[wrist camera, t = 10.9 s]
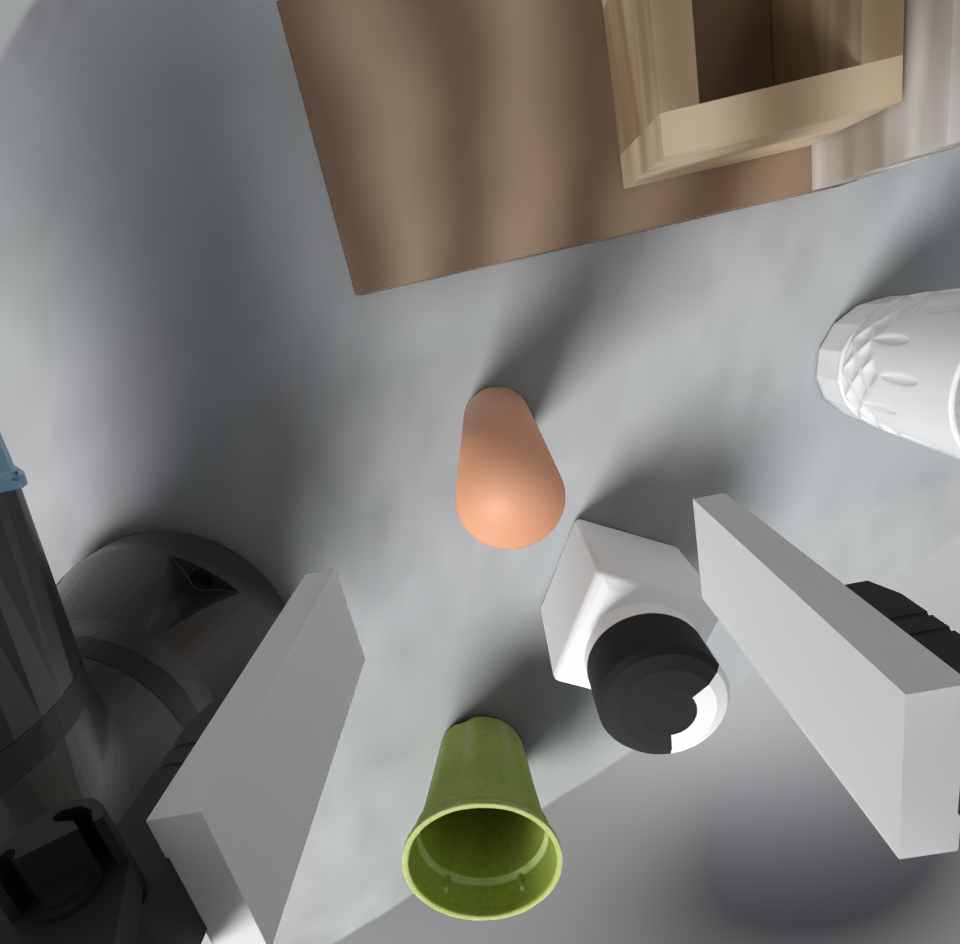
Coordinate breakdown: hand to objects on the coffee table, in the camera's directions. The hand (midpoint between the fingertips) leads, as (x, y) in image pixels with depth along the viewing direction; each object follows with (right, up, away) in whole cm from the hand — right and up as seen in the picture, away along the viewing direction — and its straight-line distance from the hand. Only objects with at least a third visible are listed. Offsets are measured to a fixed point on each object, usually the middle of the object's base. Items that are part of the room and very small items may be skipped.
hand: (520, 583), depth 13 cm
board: (+4, +21, +14) cm, 26 cm away
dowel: (0, +6, +18) cm, 19 cm away
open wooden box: (+10, +22, +12) cm, 27 cm away
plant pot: (-1, -18, +26) cm, 32 cm away
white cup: (+22, +9, +18) cm, 29 cm away
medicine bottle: (+7, -4, +22) cm, 24 cm away
